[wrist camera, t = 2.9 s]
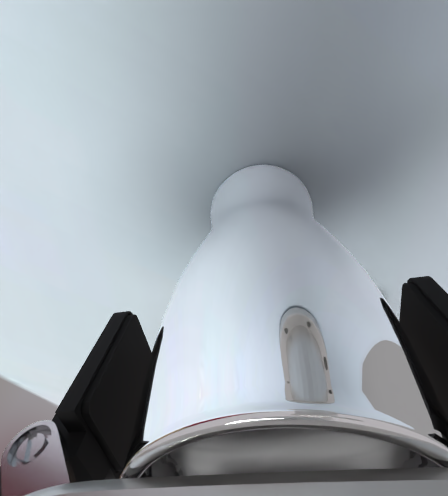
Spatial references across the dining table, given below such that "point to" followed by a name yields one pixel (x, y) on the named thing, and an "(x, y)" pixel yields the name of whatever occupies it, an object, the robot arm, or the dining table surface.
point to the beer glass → (280, 353)
